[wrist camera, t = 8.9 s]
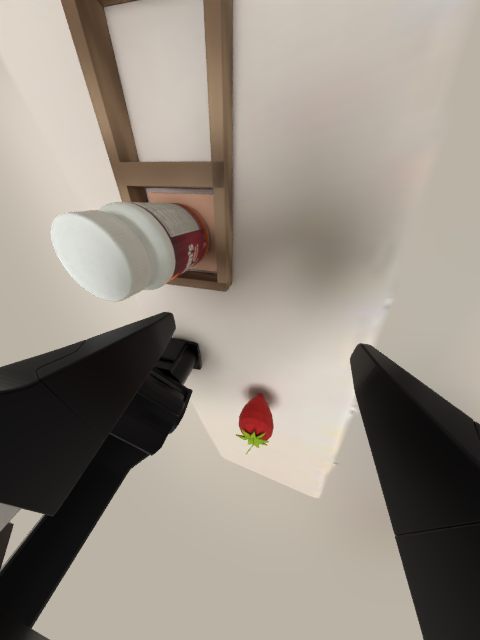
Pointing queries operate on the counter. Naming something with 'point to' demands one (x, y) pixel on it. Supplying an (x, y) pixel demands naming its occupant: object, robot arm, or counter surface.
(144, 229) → the pill bottle
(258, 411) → the strawberry
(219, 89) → the caddy
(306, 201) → the counter surface
